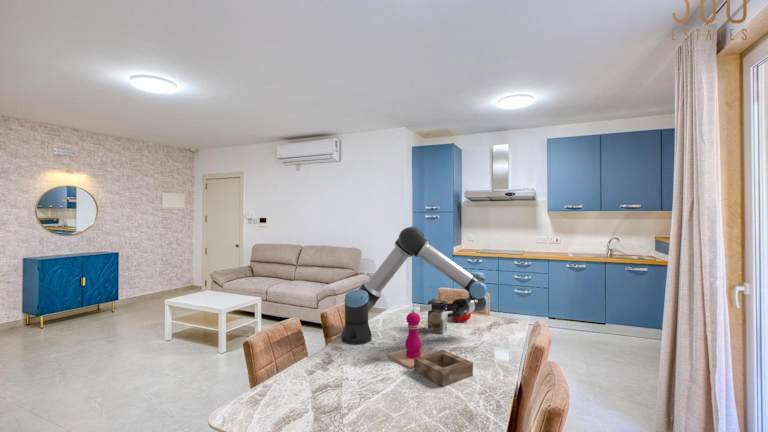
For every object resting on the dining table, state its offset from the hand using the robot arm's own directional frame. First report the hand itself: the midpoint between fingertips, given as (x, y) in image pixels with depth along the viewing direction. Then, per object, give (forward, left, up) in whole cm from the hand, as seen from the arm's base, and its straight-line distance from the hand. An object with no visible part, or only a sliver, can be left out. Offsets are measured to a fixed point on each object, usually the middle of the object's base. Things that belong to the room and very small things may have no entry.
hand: (430, 312), depth 157 cm
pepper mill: (0, -10, -17) cm, 20 cm away
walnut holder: (+18, -10, -18) cm, 27 cm away
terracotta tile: (0, -10, -18) cm, 21 cm away
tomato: (-26, +48, -18) cm, 58 cm away
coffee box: (-20, +24, -18) cm, 36 cm away
